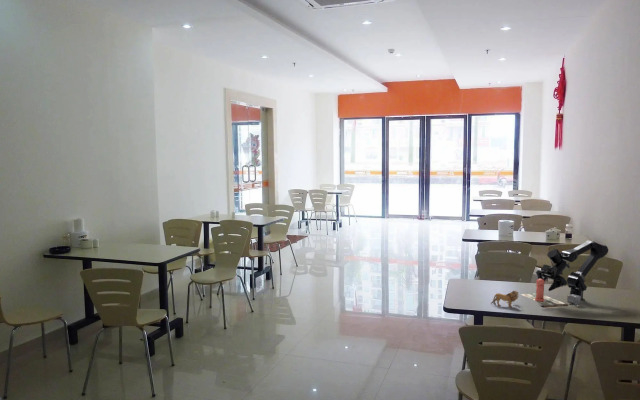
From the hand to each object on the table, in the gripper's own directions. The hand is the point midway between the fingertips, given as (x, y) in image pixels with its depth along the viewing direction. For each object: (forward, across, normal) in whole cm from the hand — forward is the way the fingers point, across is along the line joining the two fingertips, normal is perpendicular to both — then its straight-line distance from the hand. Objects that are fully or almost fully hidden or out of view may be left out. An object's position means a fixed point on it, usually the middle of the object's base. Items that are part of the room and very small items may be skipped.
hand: (542, 288), depth 277 cm
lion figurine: (+24, -2, -12) cm, 26 cm away
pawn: (+6, 0, +4) cm, 7 cm away
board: (+4, -2, +8) cm, 9 cm away
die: (-5, +8, +17) cm, 19 cm away
